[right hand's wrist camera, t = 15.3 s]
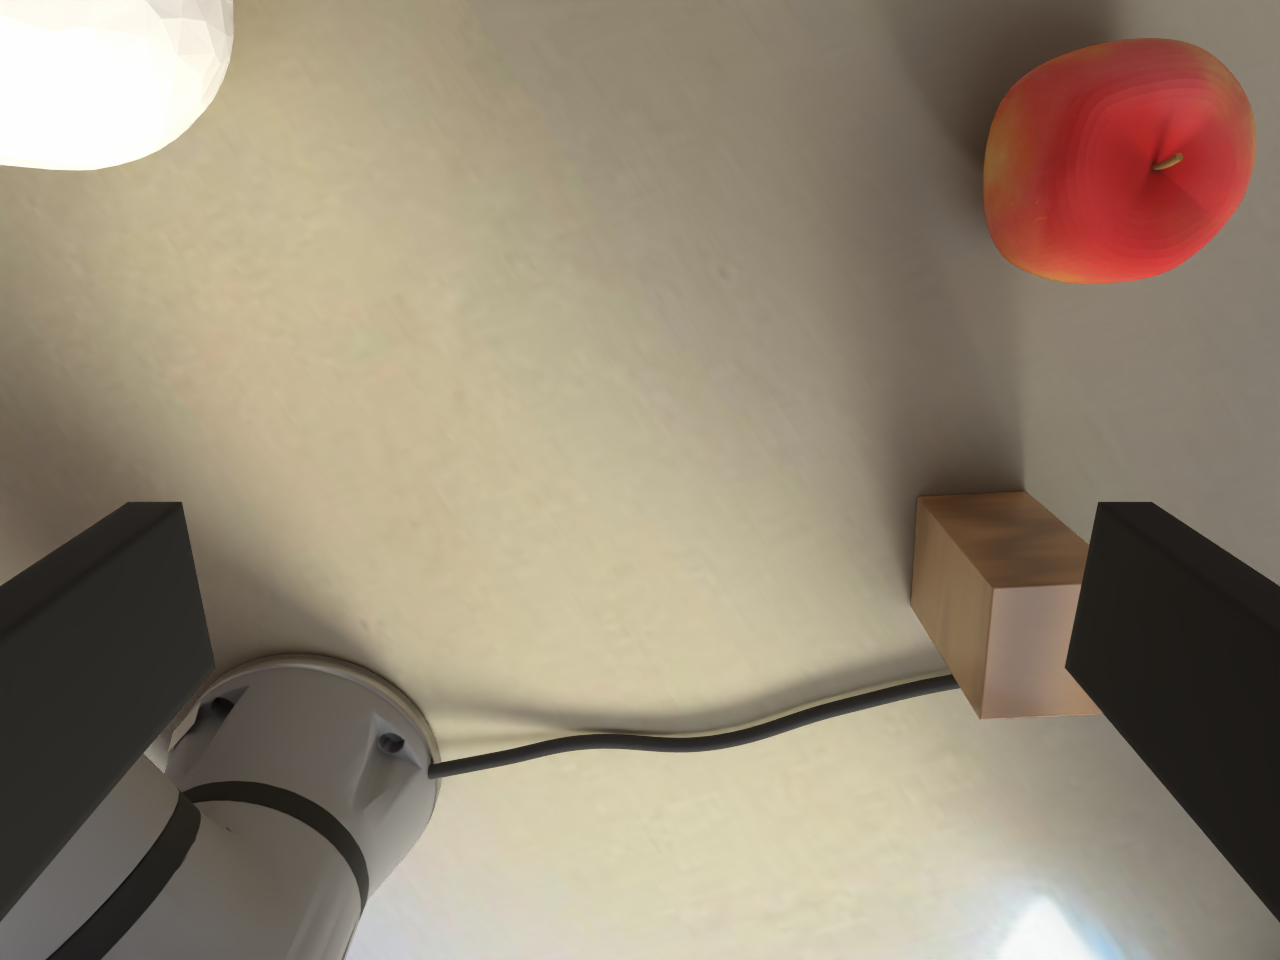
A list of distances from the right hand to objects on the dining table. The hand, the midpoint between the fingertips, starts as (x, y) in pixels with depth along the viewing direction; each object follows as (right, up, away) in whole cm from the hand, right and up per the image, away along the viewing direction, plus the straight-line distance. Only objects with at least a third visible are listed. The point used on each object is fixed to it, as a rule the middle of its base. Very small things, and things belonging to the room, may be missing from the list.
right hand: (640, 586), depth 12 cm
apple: (+19, +16, +27) cm, 37 cm away
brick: (+18, -2, +34) cm, 38 cm away
